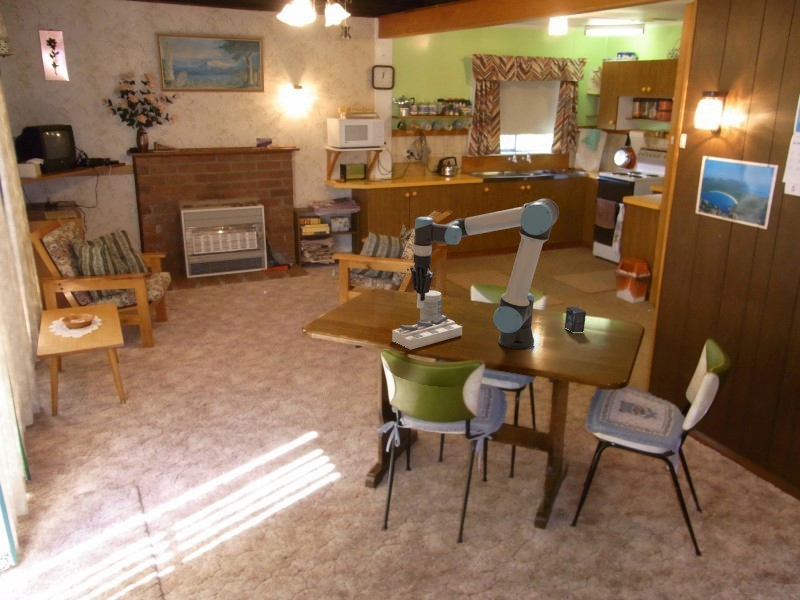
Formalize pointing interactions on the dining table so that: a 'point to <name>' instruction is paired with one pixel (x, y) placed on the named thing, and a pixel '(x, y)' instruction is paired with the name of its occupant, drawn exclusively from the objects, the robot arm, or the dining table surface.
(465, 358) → the dining table surface
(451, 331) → the power strip
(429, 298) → the supplement tub
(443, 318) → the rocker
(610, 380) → the dining table surface
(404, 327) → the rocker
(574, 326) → the box
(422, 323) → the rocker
